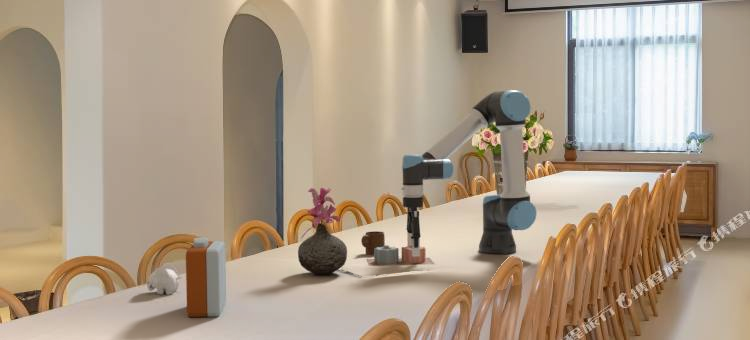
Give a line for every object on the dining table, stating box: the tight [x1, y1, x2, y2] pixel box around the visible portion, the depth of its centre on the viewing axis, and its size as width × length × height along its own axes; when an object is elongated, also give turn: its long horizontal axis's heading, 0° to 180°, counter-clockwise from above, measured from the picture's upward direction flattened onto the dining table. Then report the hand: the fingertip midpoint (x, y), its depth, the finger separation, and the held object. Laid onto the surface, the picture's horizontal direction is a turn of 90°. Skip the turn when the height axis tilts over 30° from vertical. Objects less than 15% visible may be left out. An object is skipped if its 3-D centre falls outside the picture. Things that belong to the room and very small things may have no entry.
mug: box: [361, 230, 386, 256], centre depth 312 cm, size 12×8×9 cm, turn 143°
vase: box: [297, 187, 348, 277], centre depth 275 cm, size 17×17×30 cm
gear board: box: [365, 244, 435, 267], centre depth 294 cm, size 24×14×7 cm, turn 95°
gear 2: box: [401, 245, 426, 263], centre depth 294 cm, size 9×9×5 cm
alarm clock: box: [185, 237, 227, 318], centre depth 222 cm, size 18×9×21 cm, turn 5°
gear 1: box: [373, 246, 400, 264], centre depth 293 cm, size 9×9×5 cm
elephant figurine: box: [142, 261, 182, 295], centre depth 247 cm, size 10×12×9 cm
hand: (413, 253), depth 294 cm, fingers open, 13 cm apart
